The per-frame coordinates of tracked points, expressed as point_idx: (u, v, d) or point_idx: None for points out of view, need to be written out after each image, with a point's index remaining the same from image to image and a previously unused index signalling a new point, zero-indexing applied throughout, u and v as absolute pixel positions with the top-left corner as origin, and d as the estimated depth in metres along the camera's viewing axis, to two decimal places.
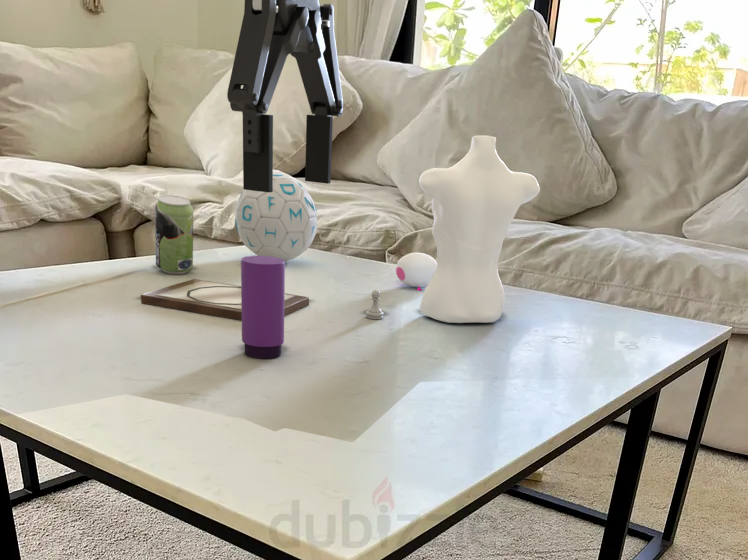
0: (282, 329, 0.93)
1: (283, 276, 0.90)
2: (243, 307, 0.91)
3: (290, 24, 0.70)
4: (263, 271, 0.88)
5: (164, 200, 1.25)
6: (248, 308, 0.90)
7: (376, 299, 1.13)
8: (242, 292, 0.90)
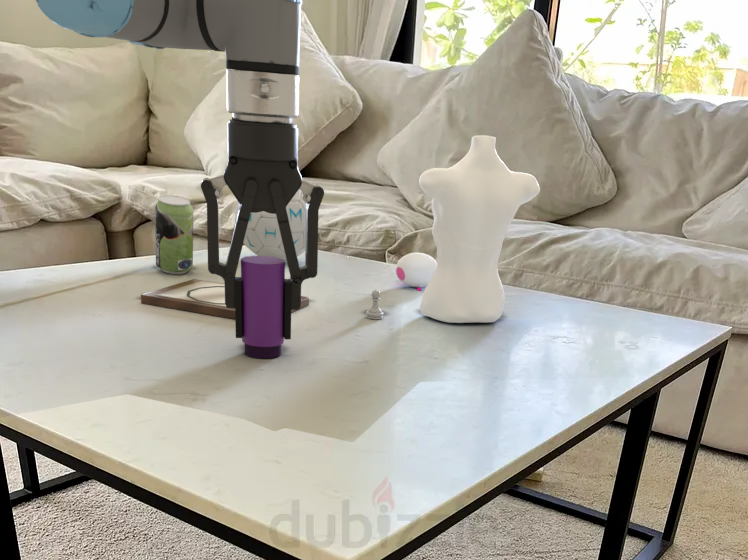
0: (282, 329, 0.93)
1: (283, 276, 0.90)
2: (243, 307, 0.91)
3: (242, 199, 0.85)
4: (263, 271, 0.88)
5: (164, 200, 1.25)
6: (248, 308, 0.90)
7: (376, 299, 1.13)
8: (242, 292, 0.90)
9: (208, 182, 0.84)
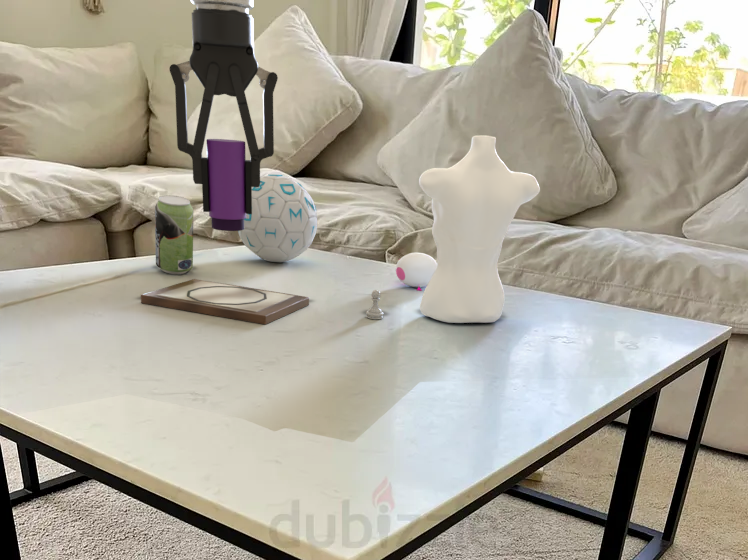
0: (244, 204, 1.05)
1: (244, 155, 1.03)
2: (209, 183, 1.04)
3: (206, 82, 0.98)
4: (225, 148, 1.01)
5: (164, 200, 1.25)
6: (213, 183, 1.03)
7: (376, 299, 1.13)
8: (208, 169, 1.03)
9: (176, 66, 0.97)
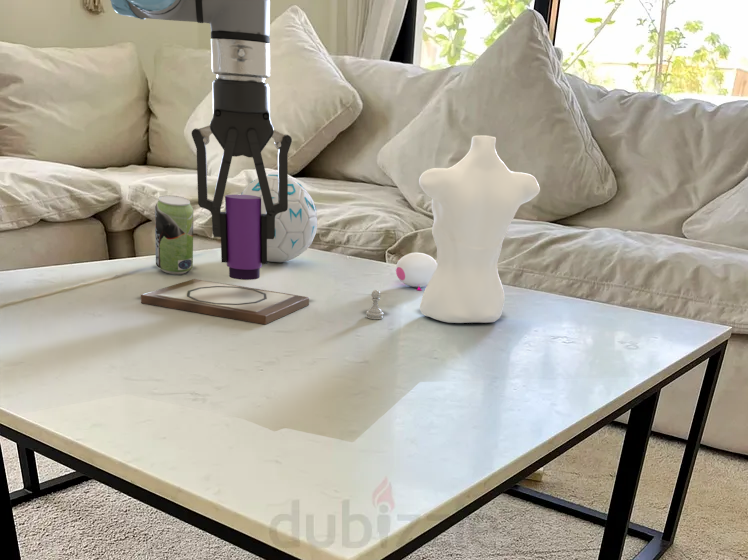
0: (260, 255, 1.13)
1: (260, 210, 1.10)
2: (227, 236, 1.11)
3: (225, 145, 1.05)
4: (243, 205, 1.08)
5: (164, 200, 1.25)
6: (231, 237, 1.10)
7: (376, 299, 1.13)
8: (226, 223, 1.10)
9: (197, 131, 1.04)
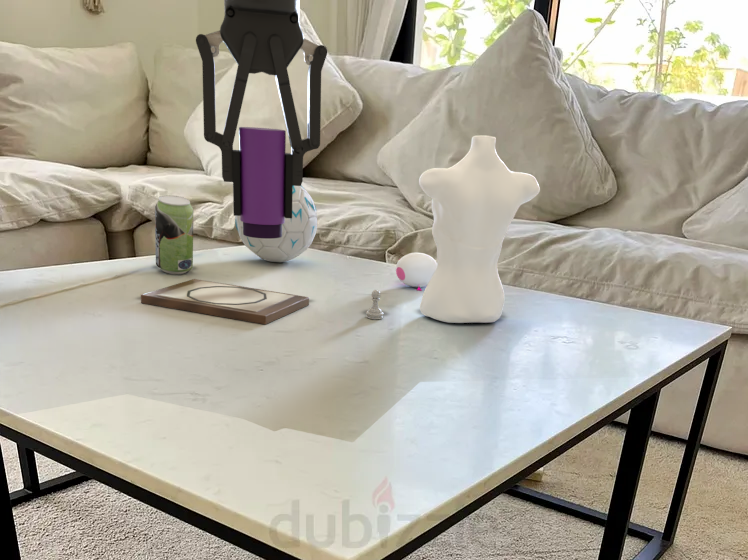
0: (283, 207, 0.87)
1: (284, 146, 0.85)
2: (241, 181, 0.85)
3: (240, 57, 0.80)
4: (263, 138, 0.82)
5: (164, 200, 1.25)
6: (247, 181, 0.85)
7: (376, 299, 1.13)
8: (240, 164, 0.85)
9: (203, 36, 0.78)
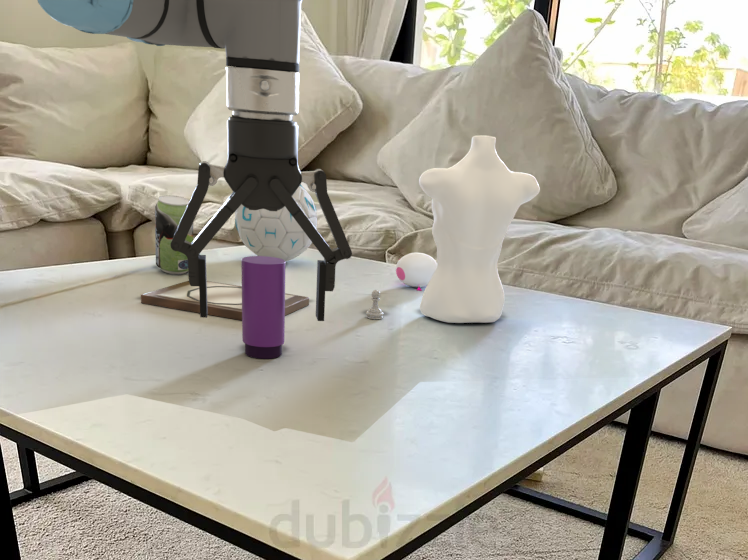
0: (282, 329, 0.93)
1: (283, 276, 0.90)
2: (243, 307, 0.91)
3: (236, 191, 0.85)
4: (263, 271, 0.88)
5: (164, 200, 1.25)
6: (249, 308, 0.90)
7: (376, 299, 1.13)
8: (242, 292, 0.90)
9: (207, 166, 0.83)
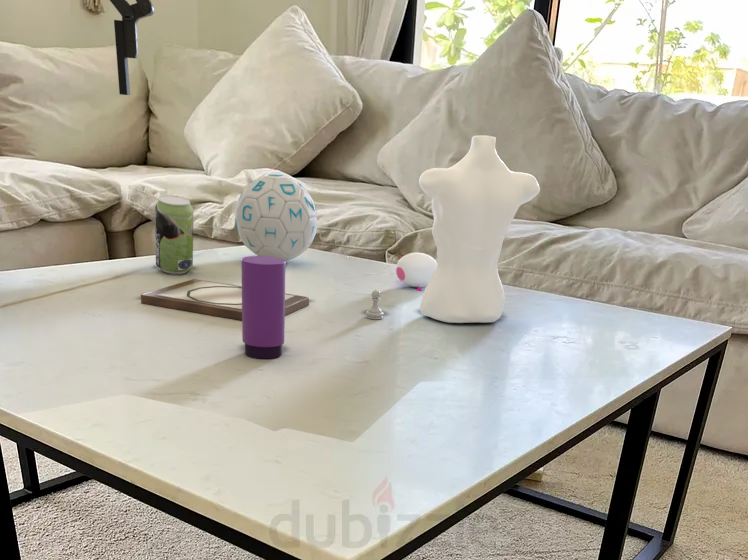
0: (282, 329, 0.93)
1: (283, 276, 0.90)
2: (243, 307, 0.91)
3: None
4: (263, 271, 0.88)
5: (164, 200, 1.25)
6: (249, 308, 0.90)
7: (376, 299, 1.13)
8: (242, 292, 0.90)
9: None
